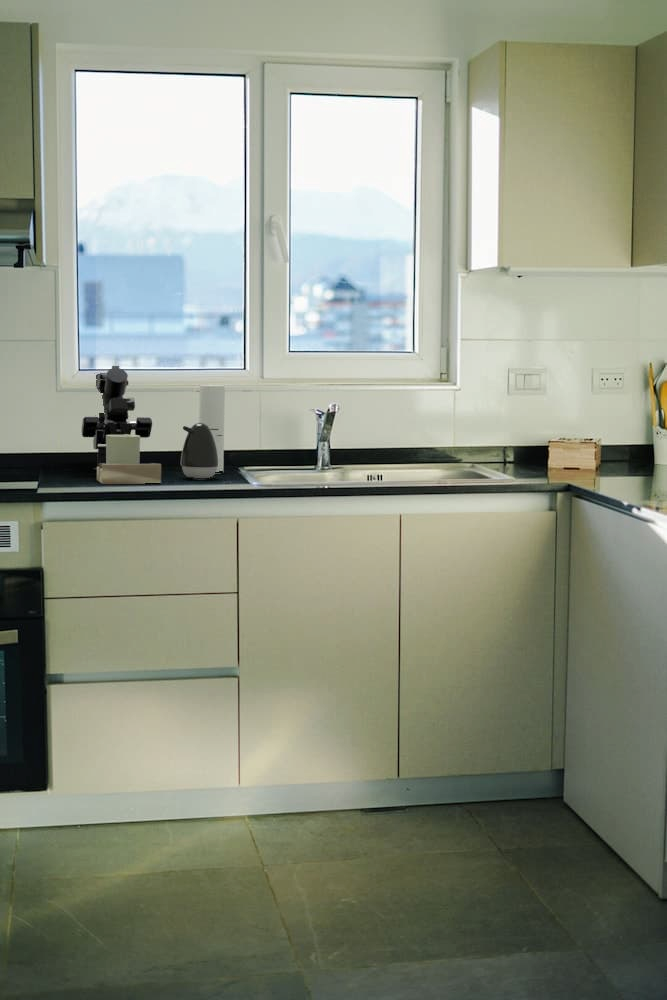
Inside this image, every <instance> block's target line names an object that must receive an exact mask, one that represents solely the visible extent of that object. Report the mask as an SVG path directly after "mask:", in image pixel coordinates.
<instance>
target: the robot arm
mask: <svg viewBox="0 0 667 1000" xmlns="http://www.w3.org/2000/svg"><path fill="white" fill-rule="evenodd" d="M99 373H100V374H97V375H96V379H97V380H96V386H95V387H96V389H98V391H99V392H100V393H103V395H102V399H103V406H104V413H105V414H104V413H99V418H98V417H96V416H84V417H83V418H82V424H81V437H83V438H93V439H92V440H93V441H92V442H93V444H92V445H93V449H95V450H97V467H99V463H105V464H106V435H124V434H129V435H132V431H134V435H139V436H140V439H141V438H146V439H147V438H149V437H151V432H152V427H153V421H152V419H151V417H141V416H139V417H138V416H137V417H136V421H128V420H129V412H128V411H134V410H135V409H136V402H135V398H134V397H127V398H125V397H124V395H125V394H126V388H127V386H129V380H128V377H129V376H128V373H127V371H125V370H124V369H122V368H120V366H119V365H111V368H110V369H108V370H107V371H106V372H99ZM97 467H94V468H93V471H97Z"/></svg>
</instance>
